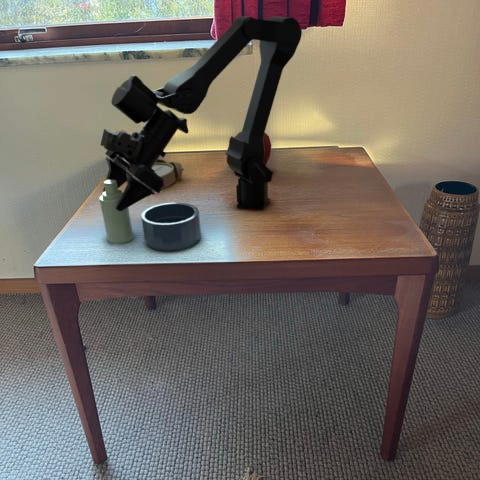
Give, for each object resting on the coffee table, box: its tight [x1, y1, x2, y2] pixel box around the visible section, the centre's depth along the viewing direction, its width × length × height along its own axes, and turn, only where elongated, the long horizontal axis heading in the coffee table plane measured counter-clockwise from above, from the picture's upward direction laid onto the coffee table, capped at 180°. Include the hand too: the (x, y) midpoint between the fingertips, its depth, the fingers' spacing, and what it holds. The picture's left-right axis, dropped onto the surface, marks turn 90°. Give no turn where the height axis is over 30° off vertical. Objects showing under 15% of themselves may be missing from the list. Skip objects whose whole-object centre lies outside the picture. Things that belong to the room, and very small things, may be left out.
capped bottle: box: [98, 179, 134, 245], centre depth 105 cm, size 5×5×12 cm
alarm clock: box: [131, 158, 185, 189], centre depth 137 cm, size 11×5×15 cm
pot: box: [140, 202, 202, 252], centre depth 105 cm, size 12×12×6 cm
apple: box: [234, 131, 272, 166], centre depth 139 cm, size 11×11×12 cm
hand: (110, 203), depth 104 cm, fingers open, 9 cm apart
